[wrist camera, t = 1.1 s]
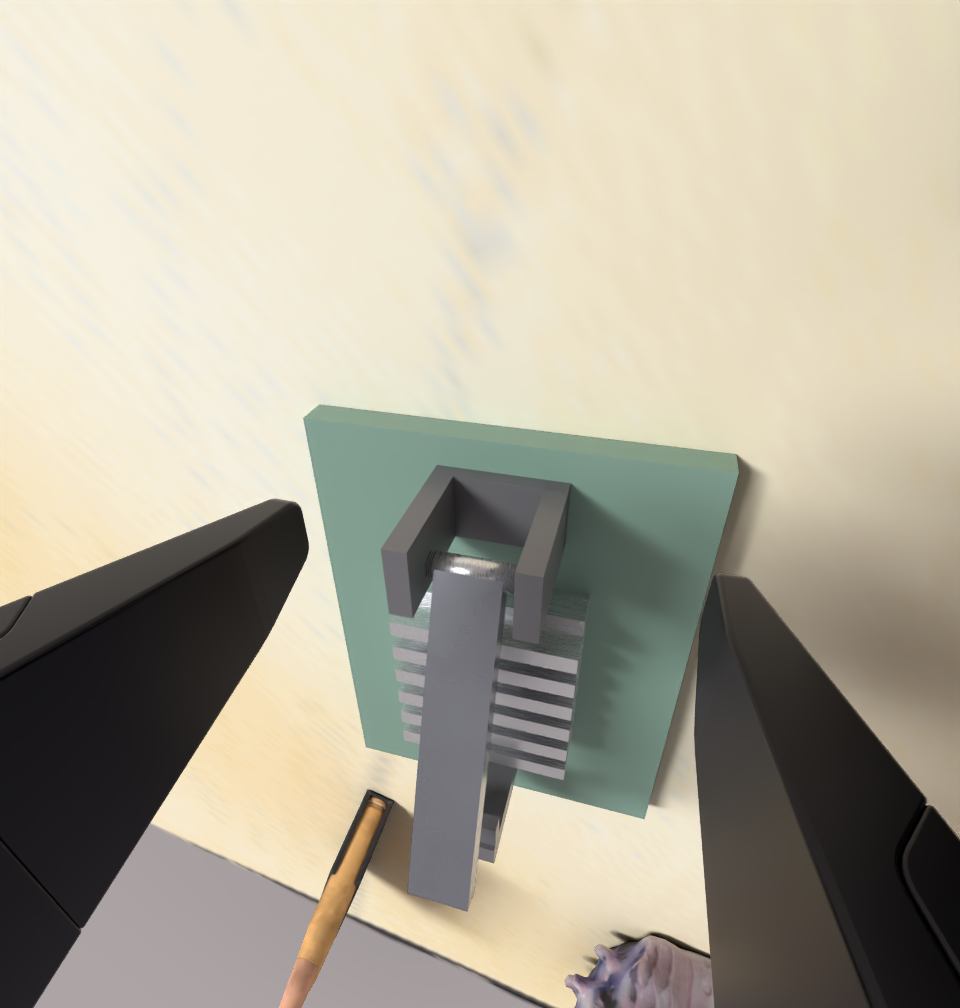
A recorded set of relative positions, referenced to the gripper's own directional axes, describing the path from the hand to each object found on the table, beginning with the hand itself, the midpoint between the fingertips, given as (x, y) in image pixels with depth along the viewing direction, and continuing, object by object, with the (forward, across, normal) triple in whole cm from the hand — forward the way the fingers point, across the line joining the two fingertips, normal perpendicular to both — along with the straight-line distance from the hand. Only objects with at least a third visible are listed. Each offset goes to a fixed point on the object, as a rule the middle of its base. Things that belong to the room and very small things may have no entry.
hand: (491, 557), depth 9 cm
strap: (+5, +2, +12) cm, 13 cm away
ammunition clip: (+12, +12, +36) cm, 40 cm away
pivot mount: (+11, +2, +7) cm, 13 cm away
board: (+12, +2, +14) cm, 19 cm away
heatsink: (+11, +2, +14) cm, 18 cm away
